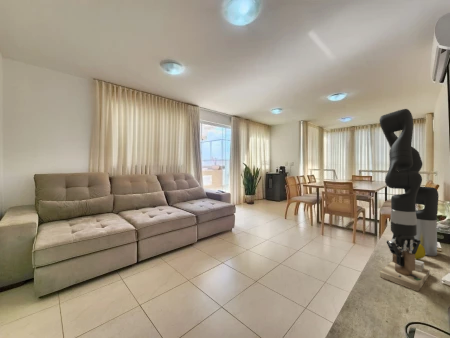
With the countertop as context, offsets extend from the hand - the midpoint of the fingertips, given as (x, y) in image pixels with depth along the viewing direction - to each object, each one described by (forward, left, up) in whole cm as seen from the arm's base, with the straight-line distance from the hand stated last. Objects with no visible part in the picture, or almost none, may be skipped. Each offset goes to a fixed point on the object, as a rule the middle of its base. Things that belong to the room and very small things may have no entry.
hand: (403, 264), depth 75 cm
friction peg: (0, +1, -3) cm, 3 cm away
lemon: (-24, -1, -5) cm, 25 cm away
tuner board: (-2, 0, -5) cm, 6 cm away
